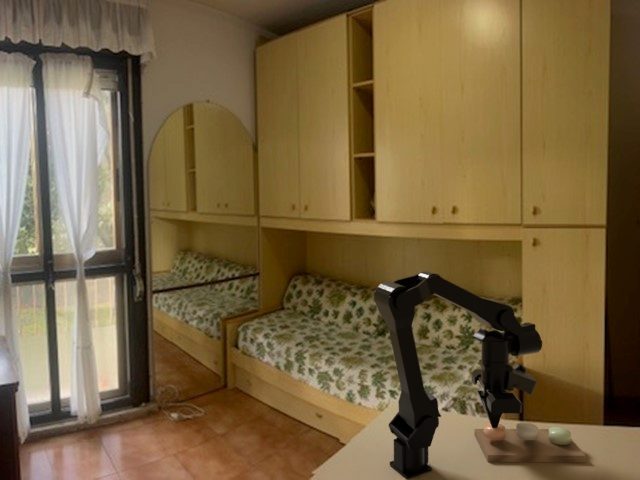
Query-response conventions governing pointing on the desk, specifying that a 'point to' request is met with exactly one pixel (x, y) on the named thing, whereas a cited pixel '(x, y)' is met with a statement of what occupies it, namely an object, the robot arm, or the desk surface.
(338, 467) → the desk surface
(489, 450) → the console
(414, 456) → the robot arm
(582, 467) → the desk surface
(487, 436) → the terracotta button
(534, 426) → the grey button
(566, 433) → the sage button
